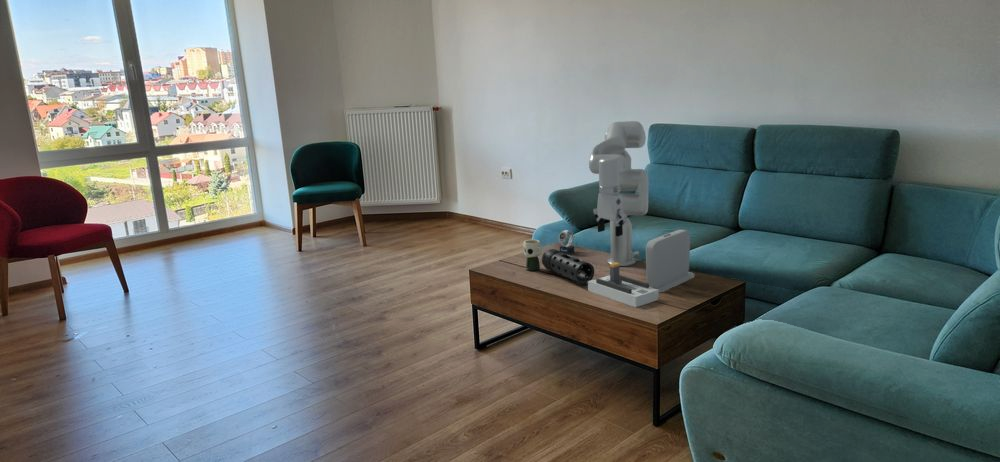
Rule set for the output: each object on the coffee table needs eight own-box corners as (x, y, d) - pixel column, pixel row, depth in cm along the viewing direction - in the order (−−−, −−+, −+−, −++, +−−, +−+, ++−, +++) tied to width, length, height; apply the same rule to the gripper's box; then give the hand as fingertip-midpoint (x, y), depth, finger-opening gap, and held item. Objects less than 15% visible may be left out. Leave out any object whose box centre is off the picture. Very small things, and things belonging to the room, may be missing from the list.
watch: (557, 253, 321) (556, 231, 318) (568, 250, 325) (568, 228, 323) (565, 255, 316) (564, 233, 314) (577, 251, 321) (576, 229, 319)
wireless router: (677, 271, 283) (678, 225, 278) (699, 275, 276) (700, 228, 271) (636, 289, 262) (635, 240, 257) (658, 294, 255) (658, 244, 250)
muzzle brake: (576, 288, 268) (575, 264, 265) (540, 272, 292) (539, 249, 289) (595, 284, 272) (594, 260, 269) (558, 268, 296) (558, 246, 294)
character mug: (518, 269, 298) (517, 241, 295) (530, 265, 303) (528, 238, 300) (536, 273, 290) (534, 245, 287) (547, 269, 295) (546, 241, 292)
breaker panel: (610, 284, 270) (610, 274, 269) (658, 299, 249) (658, 289, 248) (588, 290, 264) (587, 280, 263) (635, 307, 243) (635, 296, 242)
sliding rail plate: (615, 277, 266) (615, 273, 265) (649, 287, 251) (649, 283, 251) (596, 283, 260) (596, 279, 260) (629, 293, 245) (629, 289, 245)
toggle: (614, 280, 261) (614, 261, 260) (622, 282, 258) (621, 263, 256) (607, 282, 259) (607, 263, 257) (614, 284, 256) (614, 265, 254)
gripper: (632, 191, 248) (633, 235, 252) (600, 186, 261) (601, 227, 266) (618, 194, 243) (619, 239, 248) (586, 189, 257) (587, 231, 262)
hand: (610, 233), depth 257 cm, fingers open, 9 cm apart
